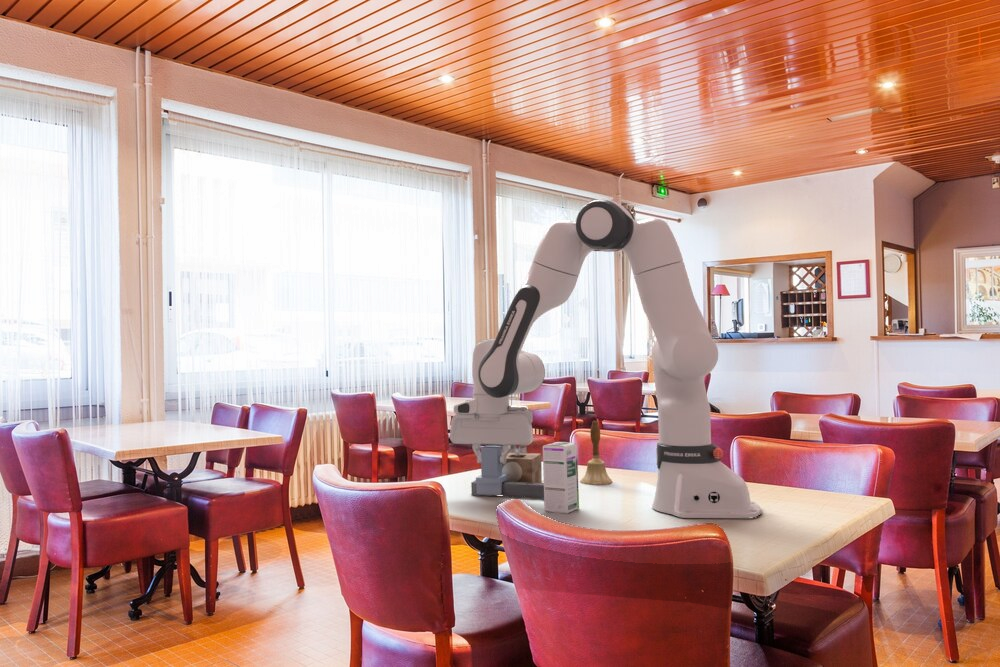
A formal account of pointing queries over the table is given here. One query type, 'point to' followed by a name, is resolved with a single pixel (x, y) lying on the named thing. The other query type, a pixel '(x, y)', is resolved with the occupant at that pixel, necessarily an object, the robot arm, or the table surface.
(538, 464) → the brown wooden block
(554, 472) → the syrup box
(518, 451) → the red capped bottle
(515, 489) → the rail
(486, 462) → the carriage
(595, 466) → the hand bell
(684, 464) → the robot arm
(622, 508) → the table surface
